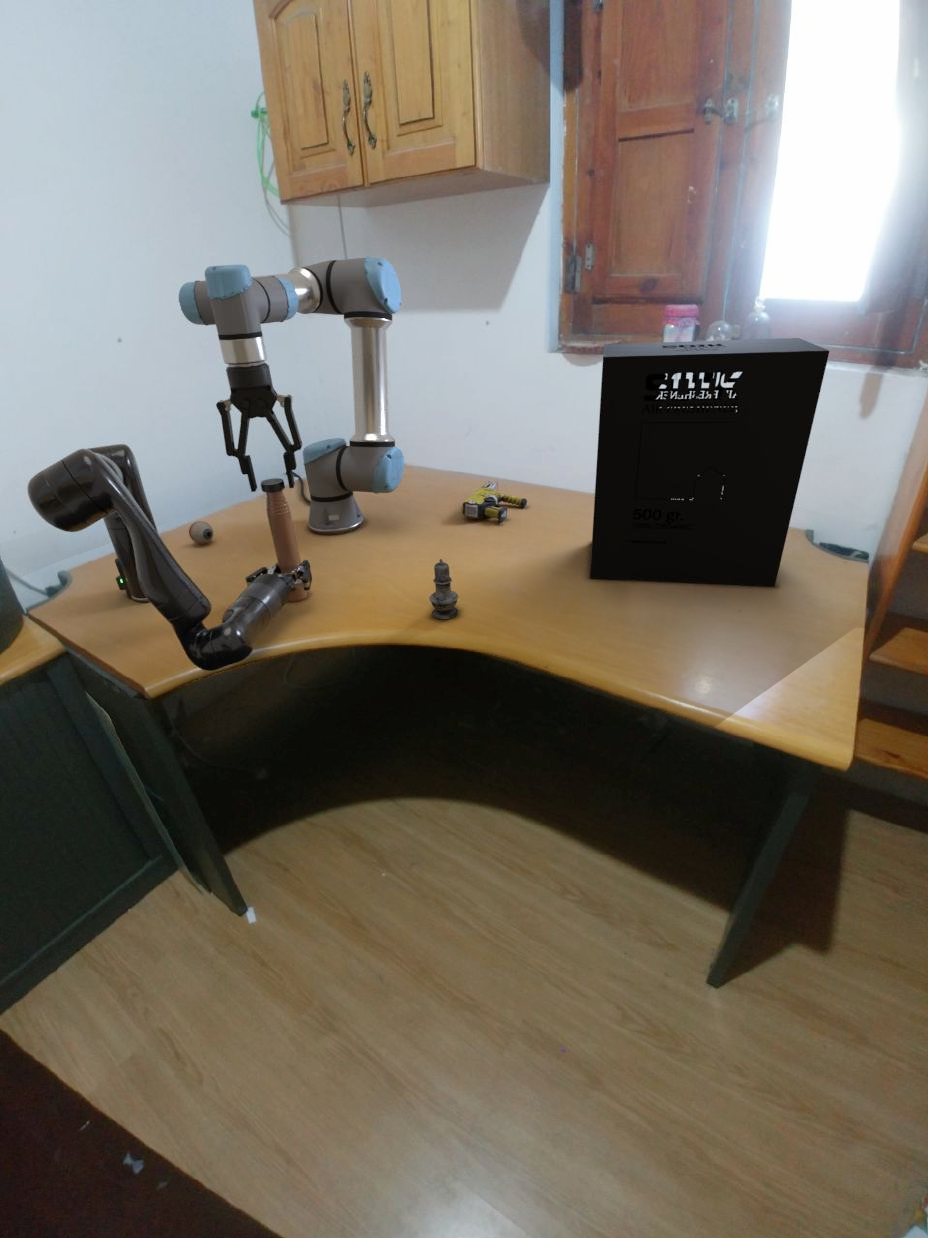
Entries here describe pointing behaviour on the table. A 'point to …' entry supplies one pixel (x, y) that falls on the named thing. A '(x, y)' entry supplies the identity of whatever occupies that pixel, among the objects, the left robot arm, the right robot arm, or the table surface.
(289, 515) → the bottle
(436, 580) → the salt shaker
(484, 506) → the toy gun
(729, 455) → the cardboard box
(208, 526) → the eyeball
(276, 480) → the cap
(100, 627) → the table surface
